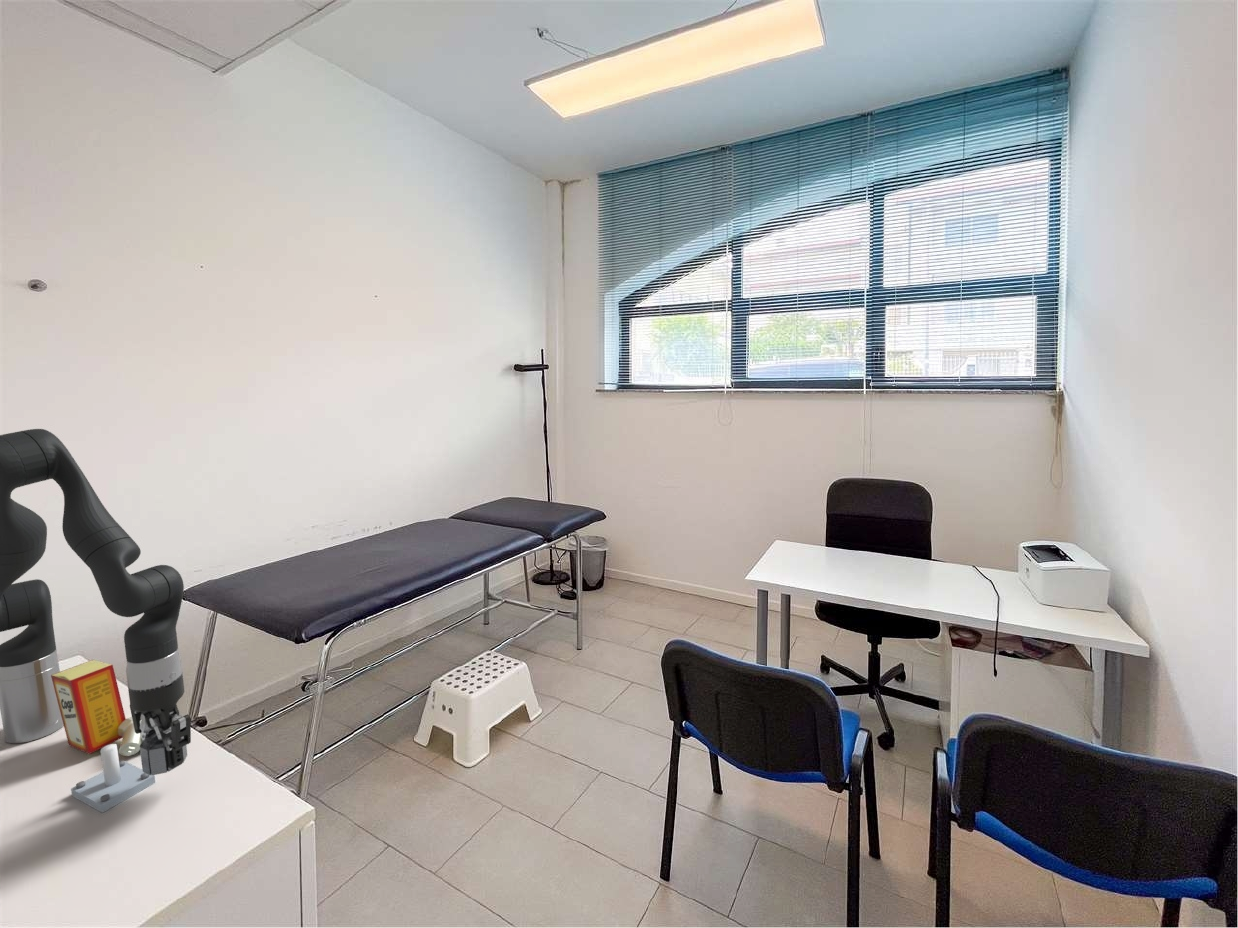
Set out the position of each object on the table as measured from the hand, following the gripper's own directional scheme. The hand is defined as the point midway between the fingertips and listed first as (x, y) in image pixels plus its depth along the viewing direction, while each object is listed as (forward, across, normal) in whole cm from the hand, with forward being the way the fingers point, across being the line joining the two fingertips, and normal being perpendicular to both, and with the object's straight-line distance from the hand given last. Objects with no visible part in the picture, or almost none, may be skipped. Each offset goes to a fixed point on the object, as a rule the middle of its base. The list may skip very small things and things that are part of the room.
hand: (165, 759), depth 100 cm
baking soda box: (+6, -28, +2) cm, 29 cm away
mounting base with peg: (+6, -10, -4) cm, 12 cm away
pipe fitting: (+6, -20, +4) cm, 21 cm away
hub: (+1, 0, 0) cm, 1 cm away
